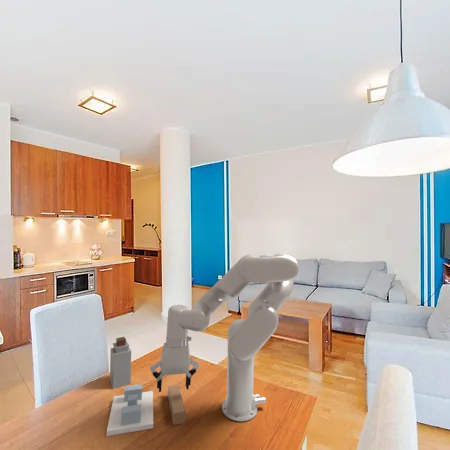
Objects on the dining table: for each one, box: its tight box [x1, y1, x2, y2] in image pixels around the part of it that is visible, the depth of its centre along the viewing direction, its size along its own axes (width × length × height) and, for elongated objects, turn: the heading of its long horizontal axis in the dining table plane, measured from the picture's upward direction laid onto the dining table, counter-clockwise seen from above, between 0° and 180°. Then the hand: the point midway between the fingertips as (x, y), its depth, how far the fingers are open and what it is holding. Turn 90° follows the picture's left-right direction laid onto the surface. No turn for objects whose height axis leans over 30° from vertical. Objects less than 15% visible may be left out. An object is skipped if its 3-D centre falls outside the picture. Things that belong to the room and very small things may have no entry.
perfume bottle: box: [109, 336, 132, 389], centre depth 114 cm, size 7×7×18 cm
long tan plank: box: [167, 384, 187, 426], centre depth 98 cm, size 4×16×4 cm, turn 18°
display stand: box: [106, 383, 154, 437], centre depth 95 cm, size 14×18×6 cm
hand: (173, 388), depth 98 cm, fingers open, 9 cm apart
